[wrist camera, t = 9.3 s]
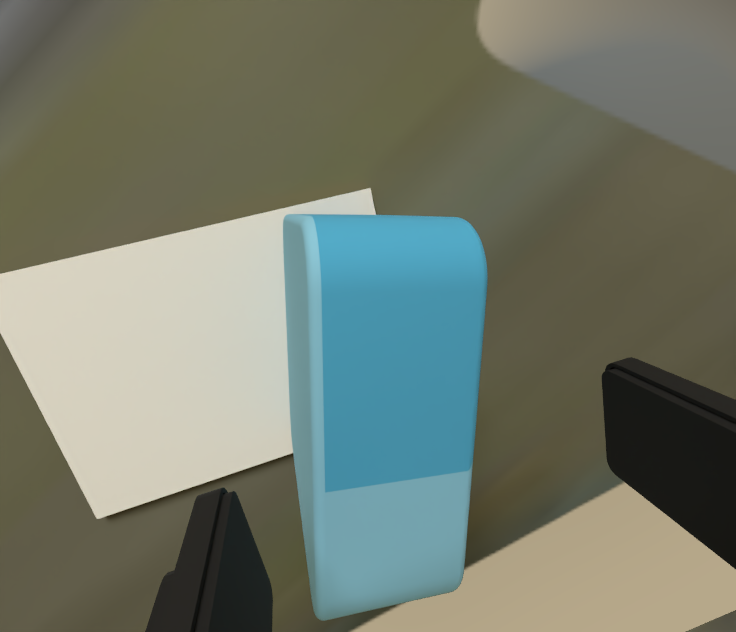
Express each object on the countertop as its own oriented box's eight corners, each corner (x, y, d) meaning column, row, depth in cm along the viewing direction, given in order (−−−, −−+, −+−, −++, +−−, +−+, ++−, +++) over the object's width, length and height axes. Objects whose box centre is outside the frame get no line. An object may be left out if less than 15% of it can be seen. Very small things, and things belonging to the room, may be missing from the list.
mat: (367, 188, 21) (370, 188, 21) (413, 406, 25) (416, 410, 25) (-18, 278, 18) (-27, 280, 18) (101, 511, 22) (97, 519, 21)
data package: (369, 426, 24) (463, 617, 13) (290, 435, 23) (317, 653, 12) (371, 214, 21) (497, 218, 10) (281, 213, 20) (306, 216, 9)
